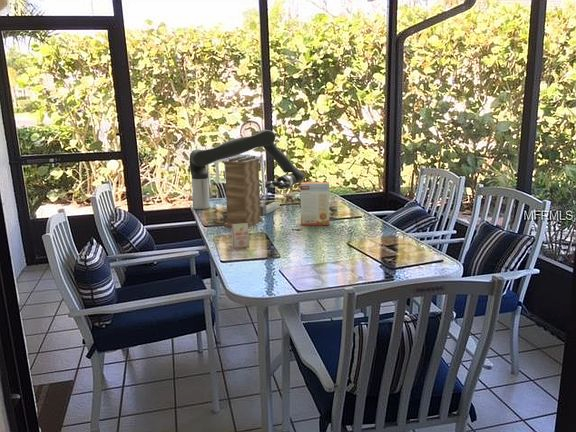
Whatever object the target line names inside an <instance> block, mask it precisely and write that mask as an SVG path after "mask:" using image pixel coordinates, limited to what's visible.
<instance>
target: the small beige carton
mask: <svg viewBox="0 0 576 432" xmlns="http://www.w3.org/2000/svg"><path fill="white" fill-rule="evenodd" d="M230 232H231V235H230V236H231V247H232V249H239V248H238V247H244V248H250V234H249V228H248V223H243V224H232V227H231V231H230Z"/></svg>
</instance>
